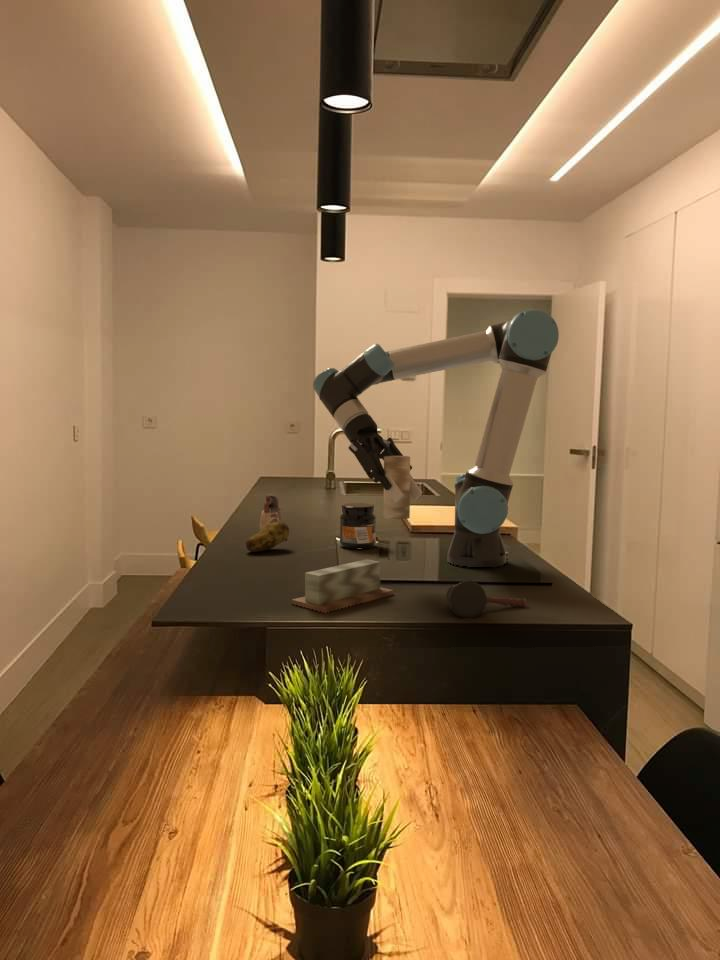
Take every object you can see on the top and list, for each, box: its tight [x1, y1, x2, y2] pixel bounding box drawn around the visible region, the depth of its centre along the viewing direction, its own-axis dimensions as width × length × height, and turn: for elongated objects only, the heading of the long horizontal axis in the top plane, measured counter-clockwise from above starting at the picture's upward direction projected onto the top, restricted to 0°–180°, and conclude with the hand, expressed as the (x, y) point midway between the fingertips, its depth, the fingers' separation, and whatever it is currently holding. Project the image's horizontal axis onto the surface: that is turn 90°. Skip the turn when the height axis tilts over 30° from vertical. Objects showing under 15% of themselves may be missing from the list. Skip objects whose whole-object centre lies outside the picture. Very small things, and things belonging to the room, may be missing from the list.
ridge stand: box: [291, 559, 394, 614], centre depth 179 cm, size 21×10×7 cm, turn 138°
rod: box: [383, 455, 411, 520], centre depth 192 cm, size 6×6×14 cm
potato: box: [245, 521, 290, 553], centre depth 232 cm, size 8×13×8 cm, turn 112°
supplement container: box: [338, 502, 377, 550], centre depth 239 cm, size 10×10×12 cm
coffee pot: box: [446, 580, 527, 619], centre depth 170 cm, size 8×18×8 cm
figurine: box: [258, 494, 282, 531], centre depth 262 cm, size 7×7×12 cm
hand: (409, 497), depth 190 cm, fingers closed on rod, 6 cm apart
